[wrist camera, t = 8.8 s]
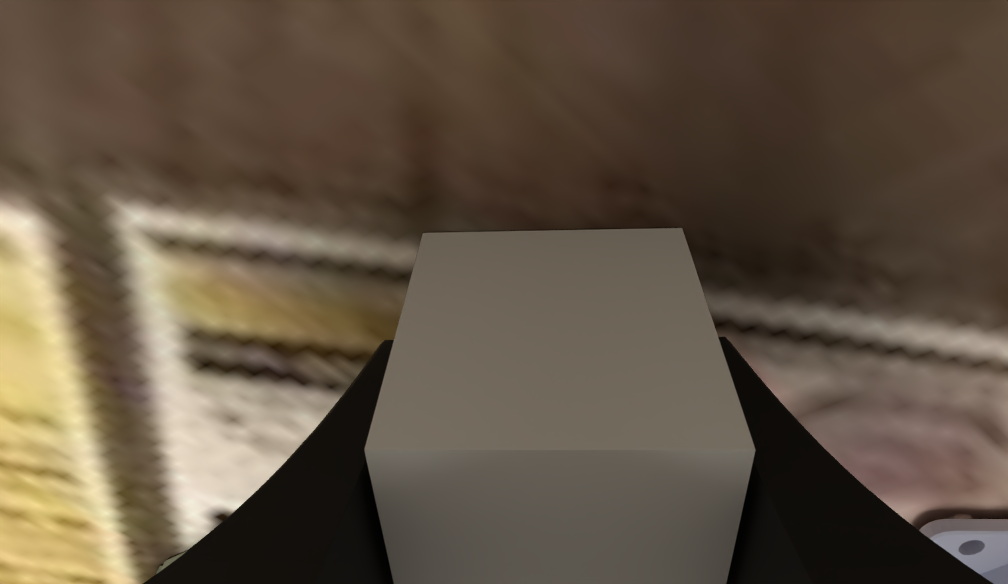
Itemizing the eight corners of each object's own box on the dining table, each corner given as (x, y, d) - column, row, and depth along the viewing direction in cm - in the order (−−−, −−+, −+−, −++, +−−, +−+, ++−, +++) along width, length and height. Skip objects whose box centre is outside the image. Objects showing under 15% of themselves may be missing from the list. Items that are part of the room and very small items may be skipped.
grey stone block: (682, 227, 12) (755, 449, 8) (661, 417, 15) (709, 661, 10) (423, 233, 12) (364, 450, 8) (445, 418, 15) (409, 656, 11)
